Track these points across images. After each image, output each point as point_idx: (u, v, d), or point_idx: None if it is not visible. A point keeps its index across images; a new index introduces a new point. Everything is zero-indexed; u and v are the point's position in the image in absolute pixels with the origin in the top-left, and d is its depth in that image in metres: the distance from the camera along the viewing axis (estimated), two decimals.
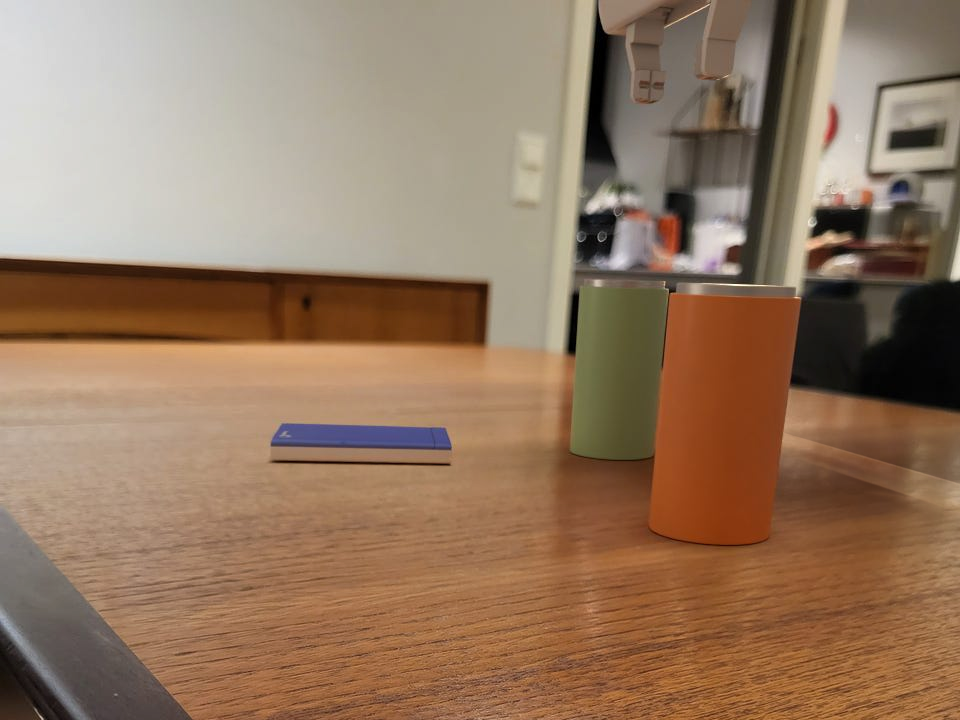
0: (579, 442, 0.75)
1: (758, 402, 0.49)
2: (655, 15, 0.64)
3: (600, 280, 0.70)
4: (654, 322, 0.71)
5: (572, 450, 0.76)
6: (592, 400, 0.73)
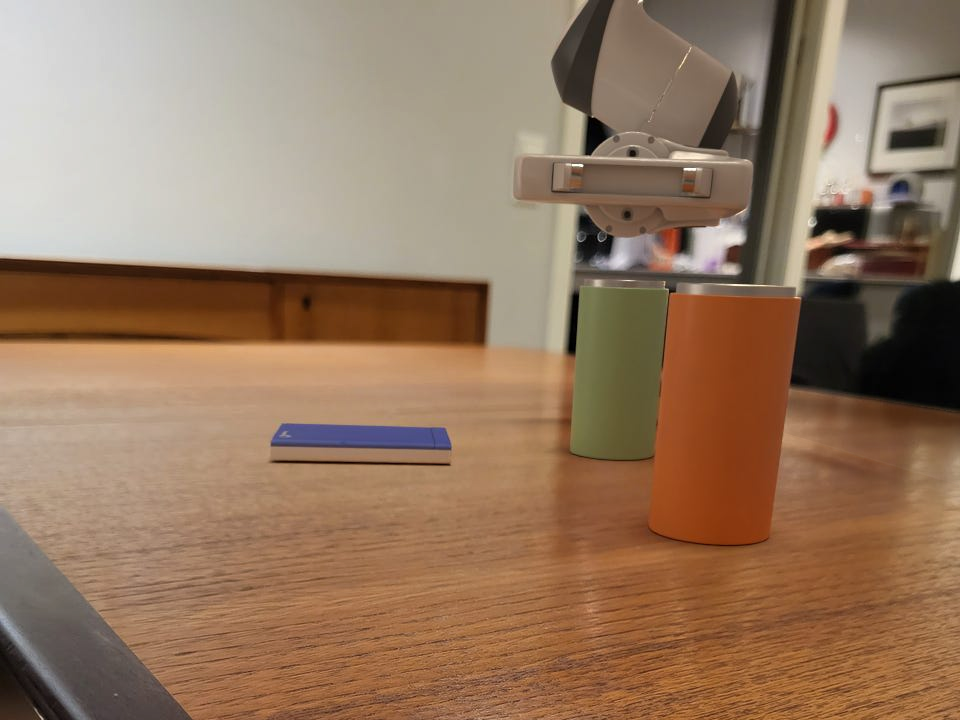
0: (579, 442, 0.75)
1: (758, 402, 0.49)
2: None
3: (600, 280, 0.70)
4: (654, 322, 0.71)
5: (572, 450, 0.76)
6: (592, 400, 0.73)
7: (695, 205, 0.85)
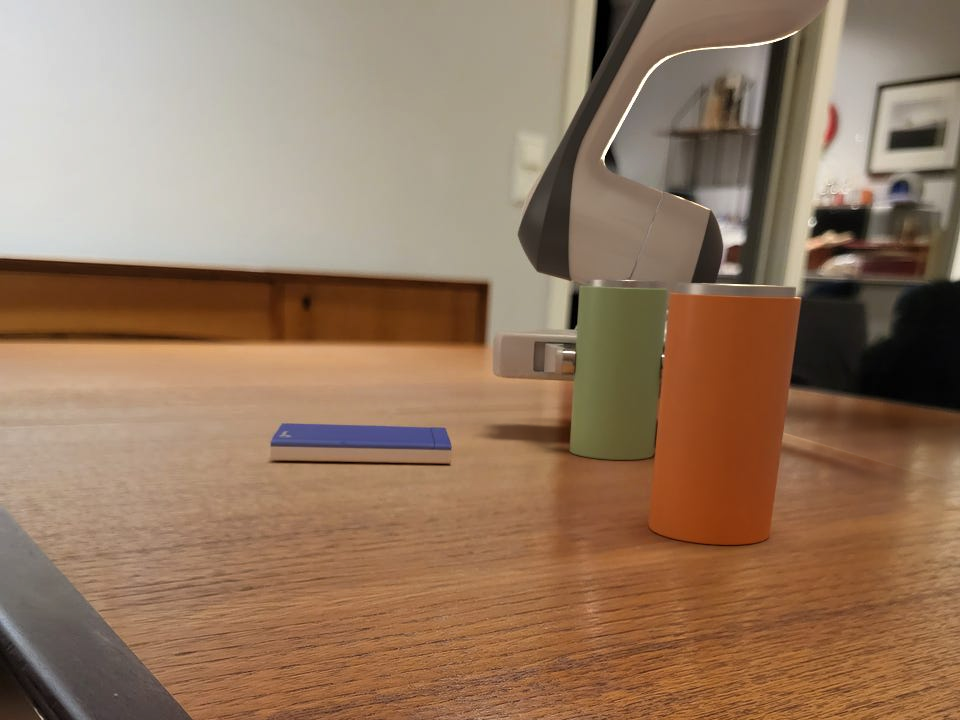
0: (579, 442, 0.75)
1: (758, 402, 0.49)
2: None
3: (600, 280, 0.70)
4: (654, 322, 0.71)
5: (572, 450, 0.76)
6: (592, 400, 0.73)
7: None
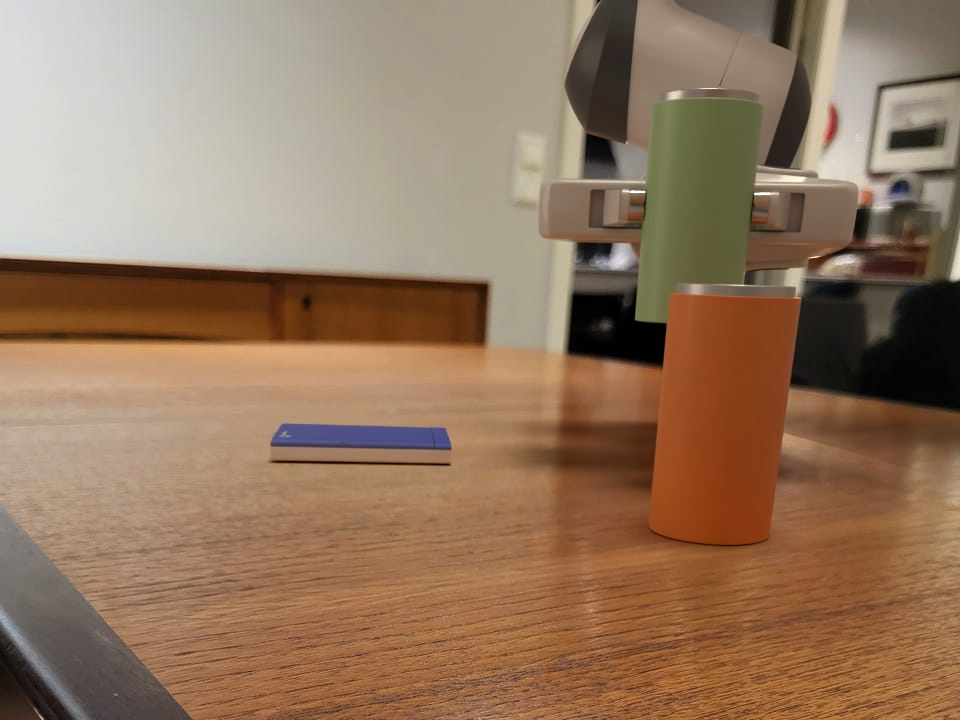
0: (649, 304, 0.60)
1: (758, 402, 0.49)
2: None
3: (680, 91, 0.56)
4: (747, 145, 0.57)
5: (639, 317, 0.61)
6: (667, 248, 0.59)
7: (780, 242, 0.64)
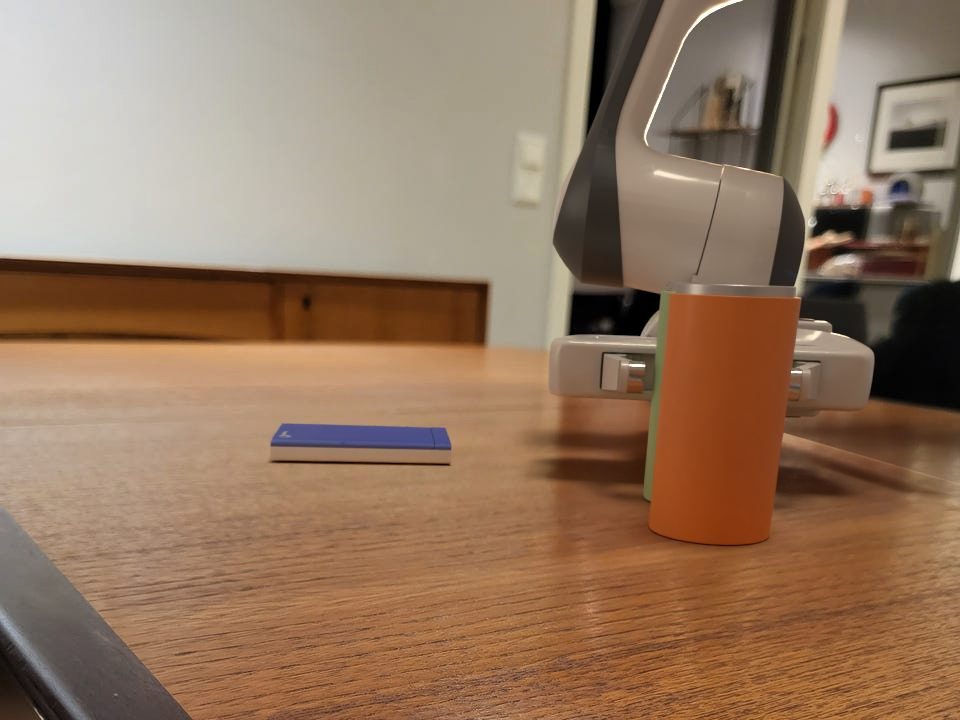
0: None
1: (758, 402, 0.49)
2: None
3: None
4: None
5: (647, 497, 0.60)
6: None
7: (794, 406, 0.63)
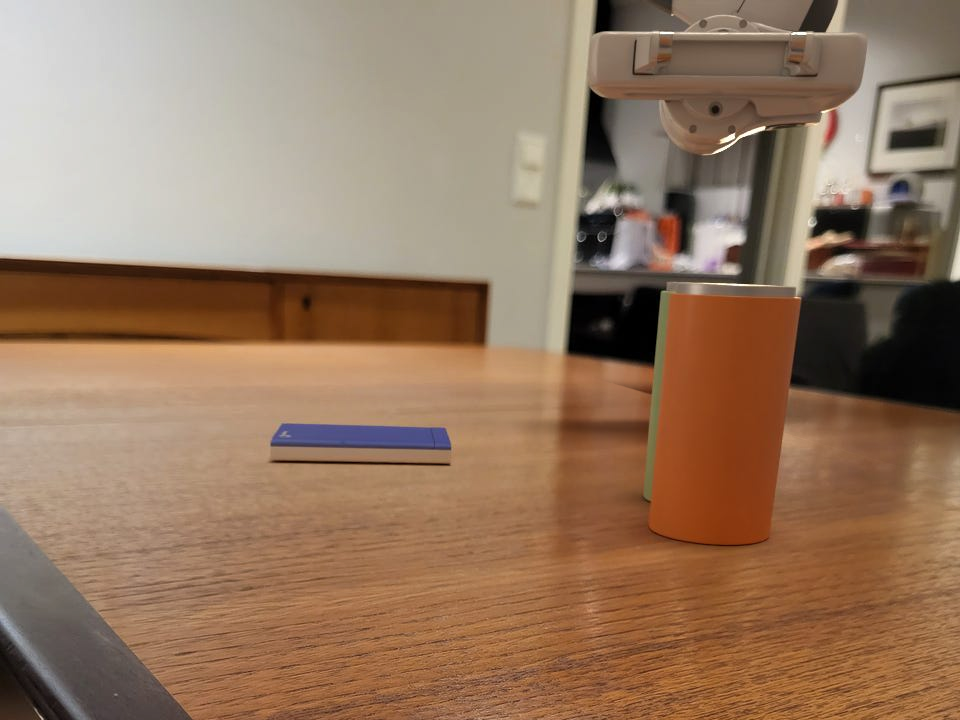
0: None
1: (758, 402, 0.49)
2: None
3: None
4: None
5: (647, 497, 0.60)
6: None
7: (799, 86, 0.73)
